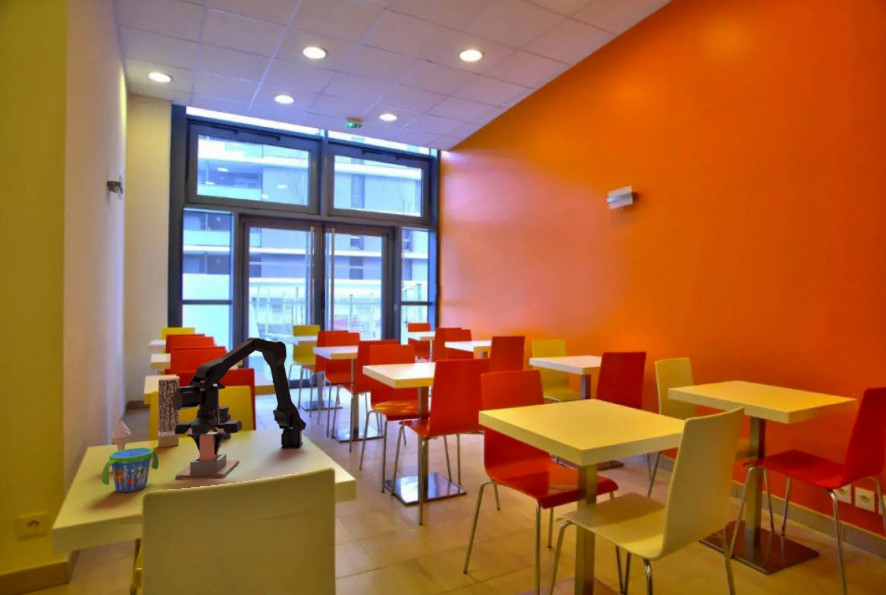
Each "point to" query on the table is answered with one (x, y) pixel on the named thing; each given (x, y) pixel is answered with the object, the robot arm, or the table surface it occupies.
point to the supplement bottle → (224, 418)
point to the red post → (208, 447)
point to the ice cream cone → (121, 435)
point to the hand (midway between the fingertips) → (208, 454)
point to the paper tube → (167, 412)
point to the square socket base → (208, 468)
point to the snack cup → (130, 468)
